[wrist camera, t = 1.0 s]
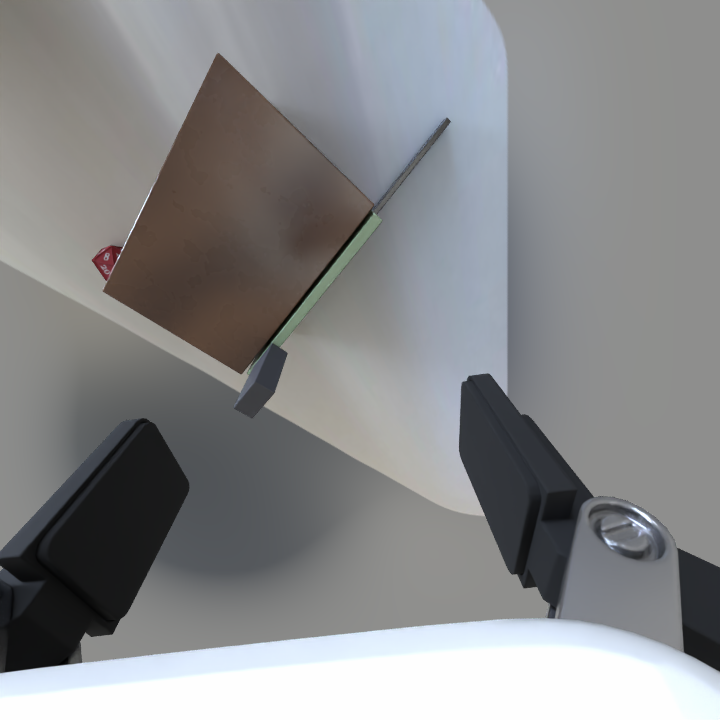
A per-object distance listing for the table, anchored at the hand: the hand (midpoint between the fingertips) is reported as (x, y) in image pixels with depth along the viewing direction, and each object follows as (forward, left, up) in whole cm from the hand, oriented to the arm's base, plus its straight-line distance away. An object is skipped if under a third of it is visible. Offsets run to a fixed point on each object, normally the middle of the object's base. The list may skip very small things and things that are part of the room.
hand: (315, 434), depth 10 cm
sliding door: (0, -3, -29) cm, 30 cm away
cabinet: (-6, +2, -30) cm, 31 cm away
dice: (-17, -16, -30) cm, 38 cm away
